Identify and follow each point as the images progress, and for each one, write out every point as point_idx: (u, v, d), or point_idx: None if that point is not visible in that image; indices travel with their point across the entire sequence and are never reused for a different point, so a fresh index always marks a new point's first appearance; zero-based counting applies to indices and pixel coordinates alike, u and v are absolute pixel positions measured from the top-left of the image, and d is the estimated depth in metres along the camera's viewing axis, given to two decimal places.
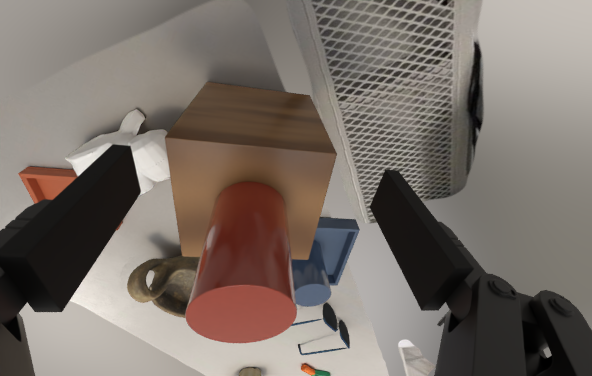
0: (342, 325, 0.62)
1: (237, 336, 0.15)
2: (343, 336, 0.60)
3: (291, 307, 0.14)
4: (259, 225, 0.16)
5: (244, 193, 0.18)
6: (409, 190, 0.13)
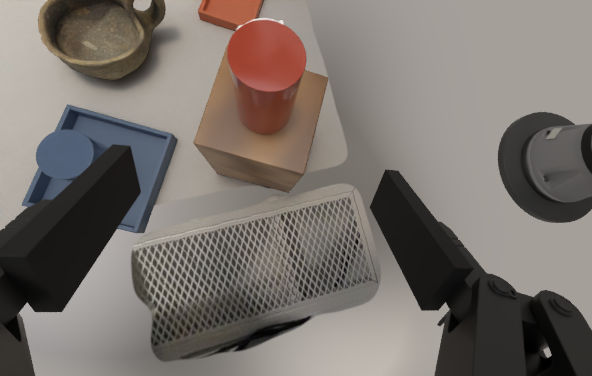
0: None
1: (241, 43, 0.19)
2: None
3: (271, 88, 0.19)
4: (295, 100, 0.24)
5: None
6: (409, 190, 0.13)
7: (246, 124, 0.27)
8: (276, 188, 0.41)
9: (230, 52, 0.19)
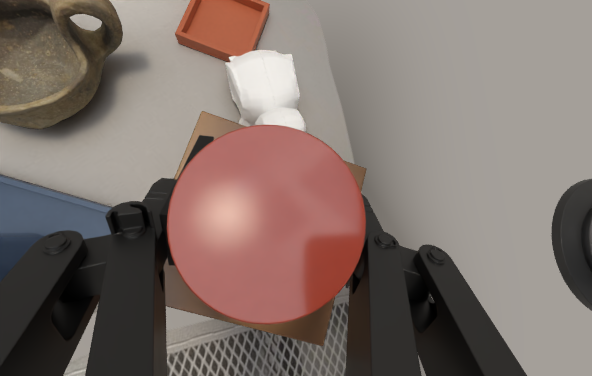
0: None
1: (207, 189, 0.08)
2: None
3: (280, 315, 0.07)
4: None
5: None
6: None
7: None
8: None
9: (176, 216, 0.07)
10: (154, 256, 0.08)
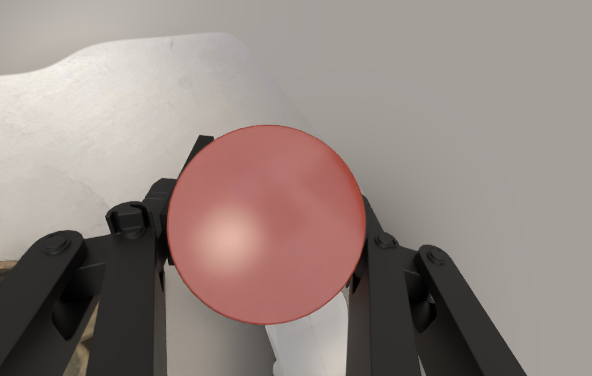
0: None
1: (207, 189, 0.08)
2: None
3: (280, 316, 0.07)
4: None
5: None
6: None
7: None
8: None
9: (176, 216, 0.07)
10: (154, 256, 0.08)
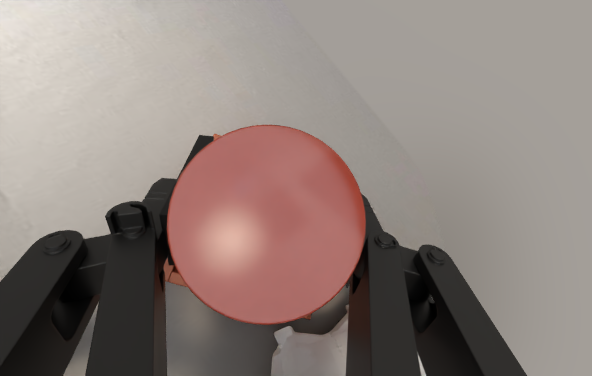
0: None
1: (207, 189, 0.08)
2: None
3: (280, 315, 0.07)
4: None
5: None
6: None
7: None
8: None
9: (176, 216, 0.07)
10: (154, 256, 0.08)
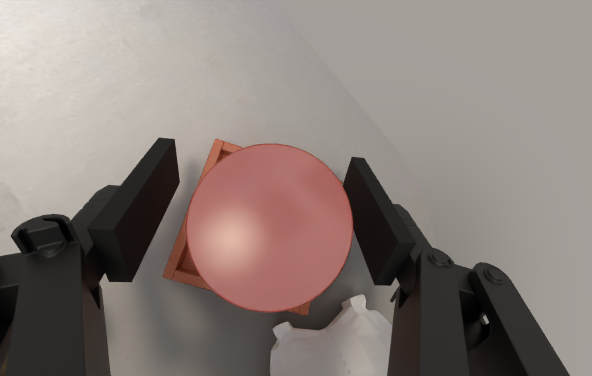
0: None
1: (218, 200, 0.09)
2: None
3: (281, 305, 0.09)
4: None
5: None
6: (371, 175, 0.13)
7: None
8: None
9: (193, 223, 0.09)
10: (80, 271, 0.07)
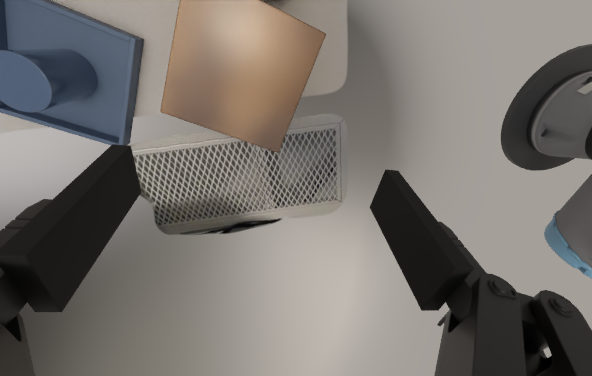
0: None
1: None
2: None
3: None
4: None
5: None
6: (409, 190, 0.13)
7: None
8: None
9: None
10: None
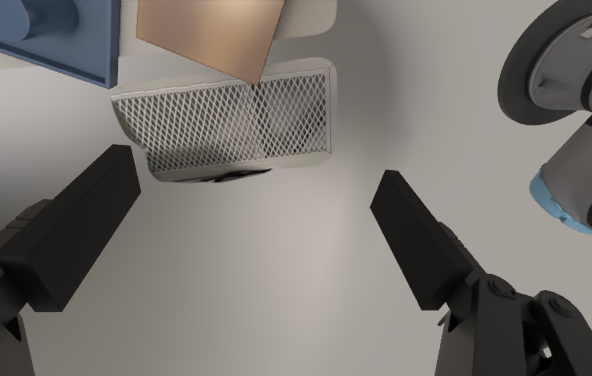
0: None
1: None
2: None
3: None
4: None
5: None
6: (409, 190, 0.13)
7: None
8: None
9: None
10: None
